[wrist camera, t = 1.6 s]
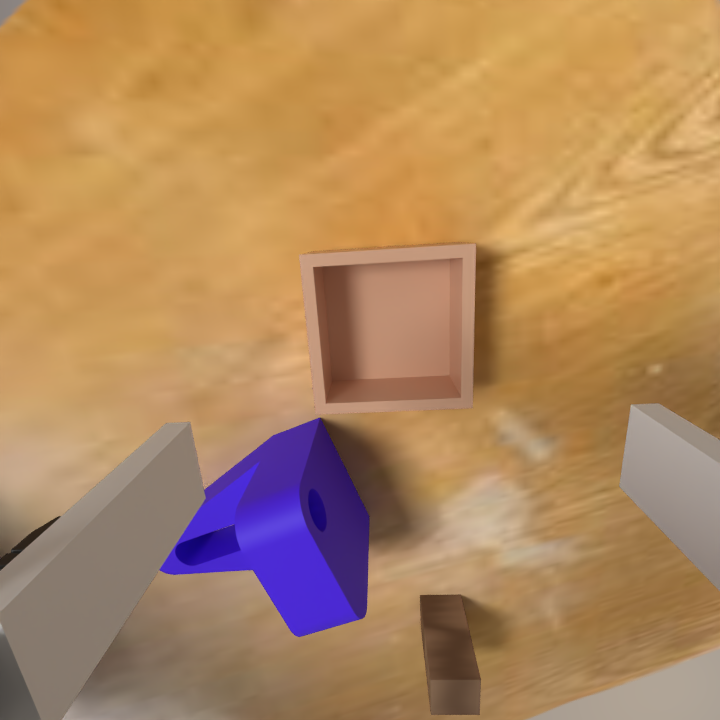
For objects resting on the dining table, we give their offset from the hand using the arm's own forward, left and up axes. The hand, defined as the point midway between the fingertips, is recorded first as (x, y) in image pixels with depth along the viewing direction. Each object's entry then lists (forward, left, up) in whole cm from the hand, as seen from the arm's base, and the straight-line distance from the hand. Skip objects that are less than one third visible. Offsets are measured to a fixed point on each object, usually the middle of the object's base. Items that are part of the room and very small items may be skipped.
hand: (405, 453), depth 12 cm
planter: (0, 0, -21) cm, 21 cm away
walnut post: (+4, -30, -21) cm, 37 cm away
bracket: (-13, -17, -21) cm, 30 cm away
